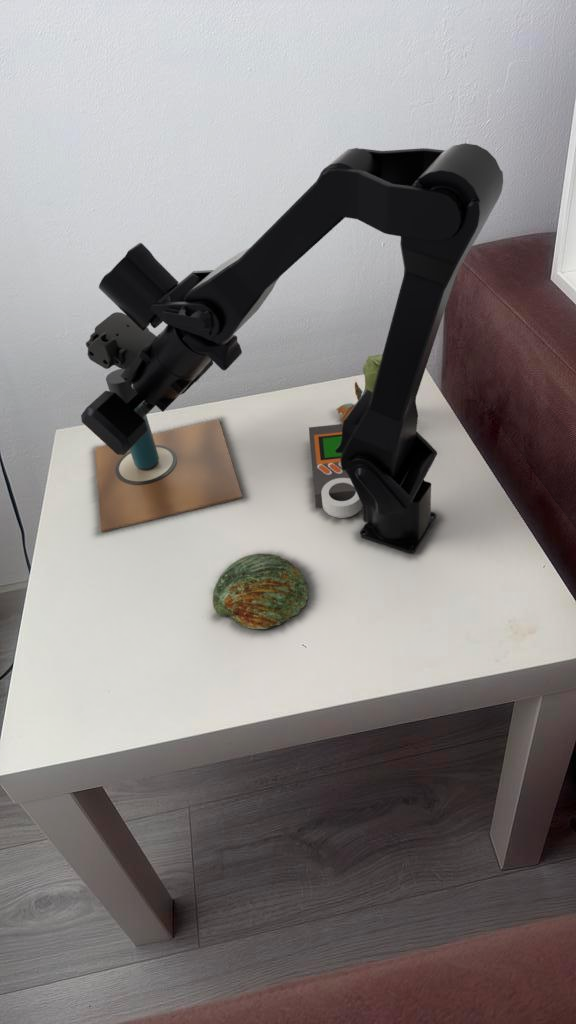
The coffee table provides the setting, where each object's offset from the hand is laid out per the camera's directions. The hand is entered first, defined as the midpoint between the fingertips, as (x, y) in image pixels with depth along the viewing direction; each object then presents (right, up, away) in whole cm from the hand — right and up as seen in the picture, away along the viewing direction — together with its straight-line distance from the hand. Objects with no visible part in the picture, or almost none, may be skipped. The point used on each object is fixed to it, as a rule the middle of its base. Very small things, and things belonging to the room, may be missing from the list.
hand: (123, 420), depth 91 cm
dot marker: (+2, -5, +4) cm, 7 cm away
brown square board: (+5, -6, +3) cm, 8 cm away
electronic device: (+27, -7, -2) cm, 28 cm away
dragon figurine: (+31, +3, +5) cm, 31 cm away
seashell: (+17, -20, -14) cm, 30 cm away
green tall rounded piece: (+33, 0, +5) cm, 33 cm away
